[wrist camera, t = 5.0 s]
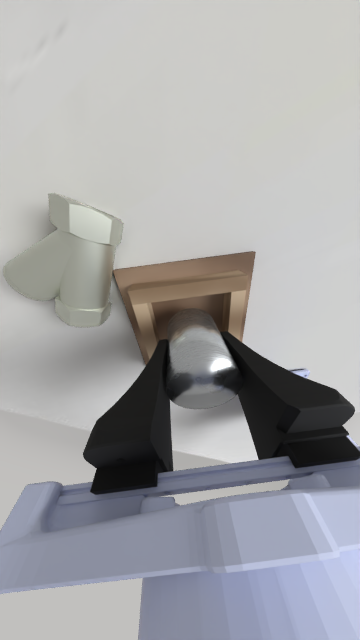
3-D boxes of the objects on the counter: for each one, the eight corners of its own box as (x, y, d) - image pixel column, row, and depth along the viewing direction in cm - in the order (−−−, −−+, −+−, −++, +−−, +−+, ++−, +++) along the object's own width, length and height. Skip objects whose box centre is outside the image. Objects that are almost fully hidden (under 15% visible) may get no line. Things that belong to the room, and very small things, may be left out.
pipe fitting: (40, 288, 13) (113, 311, 14) (-8, 305, 10) (93, 333, 11) (28, 180, 10) (128, 222, 11) (-54, 148, 6) (104, 214, 7)
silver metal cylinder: (212, 345, 15) (236, 405, 9) (169, 348, 14) (169, 411, 9) (216, 306, 12) (250, 358, 7) (165, 309, 12) (163, 365, 7)
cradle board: (236, 349, 19) (246, 366, 17) (147, 361, 19) (144, 379, 17) (249, 250, 13) (268, 254, 10) (116, 268, 13) (104, 276, 10)
